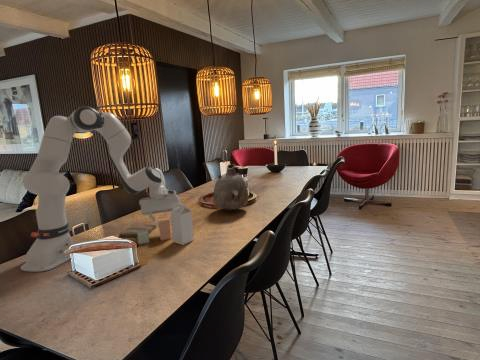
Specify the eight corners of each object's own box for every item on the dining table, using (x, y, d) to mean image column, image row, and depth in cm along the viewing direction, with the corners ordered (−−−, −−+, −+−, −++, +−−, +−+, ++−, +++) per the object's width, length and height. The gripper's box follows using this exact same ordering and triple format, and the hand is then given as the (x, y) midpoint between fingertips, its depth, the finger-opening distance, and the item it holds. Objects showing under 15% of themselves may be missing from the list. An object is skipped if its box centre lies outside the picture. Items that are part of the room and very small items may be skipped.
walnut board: (144, 237, 160) (144, 234, 160) (119, 236, 162) (119, 234, 162) (156, 227, 173) (155, 225, 173) (132, 227, 176) (132, 224, 175)
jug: (206, 210, 200) (203, 164, 194) (233, 203, 213) (230, 160, 207) (230, 219, 182) (227, 168, 175) (257, 211, 195) (256, 163, 189)
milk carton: (184, 237, 157) (181, 201, 154) (193, 240, 153) (191, 203, 149) (173, 242, 152) (169, 204, 148) (182, 245, 148) (179, 206, 144)
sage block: (149, 242, 153) (148, 232, 152) (138, 244, 152) (137, 234, 151) (148, 238, 158) (147, 229, 157) (138, 240, 156) (137, 231, 155)
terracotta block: (170, 238, 157) (169, 219, 155) (160, 240, 155) (158, 221, 153) (169, 235, 161) (167, 216, 159) (159, 236, 160) (157, 218, 158)
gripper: (138, 195, 159) (141, 219, 152) (178, 190, 166) (183, 213, 159) (138, 201, 164) (142, 225, 157) (178, 196, 171) (182, 219, 164)
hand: (163, 219), depth 158 cm, fingers open, 8 cm apart
